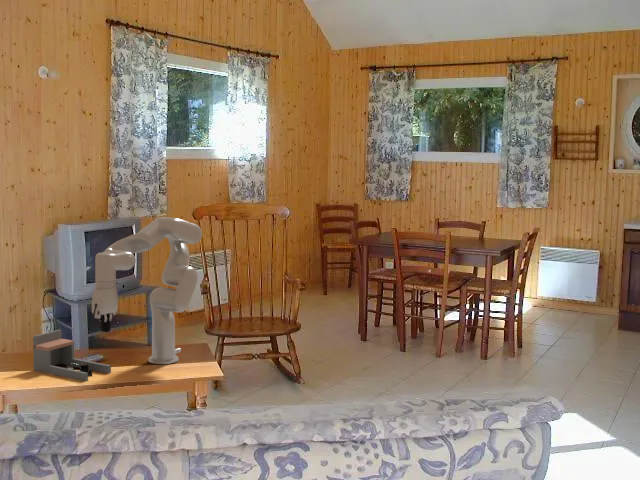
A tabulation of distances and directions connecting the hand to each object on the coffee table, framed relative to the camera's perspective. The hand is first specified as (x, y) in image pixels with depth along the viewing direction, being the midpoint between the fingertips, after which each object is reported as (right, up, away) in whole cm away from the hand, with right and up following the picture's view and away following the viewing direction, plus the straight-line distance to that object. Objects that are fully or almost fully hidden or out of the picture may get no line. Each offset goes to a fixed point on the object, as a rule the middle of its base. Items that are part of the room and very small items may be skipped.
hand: (105, 331), depth 288 cm
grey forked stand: (-16, -17, +10) cm, 26 cm away
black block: (-11, -19, +8) cm, 23 cm away
